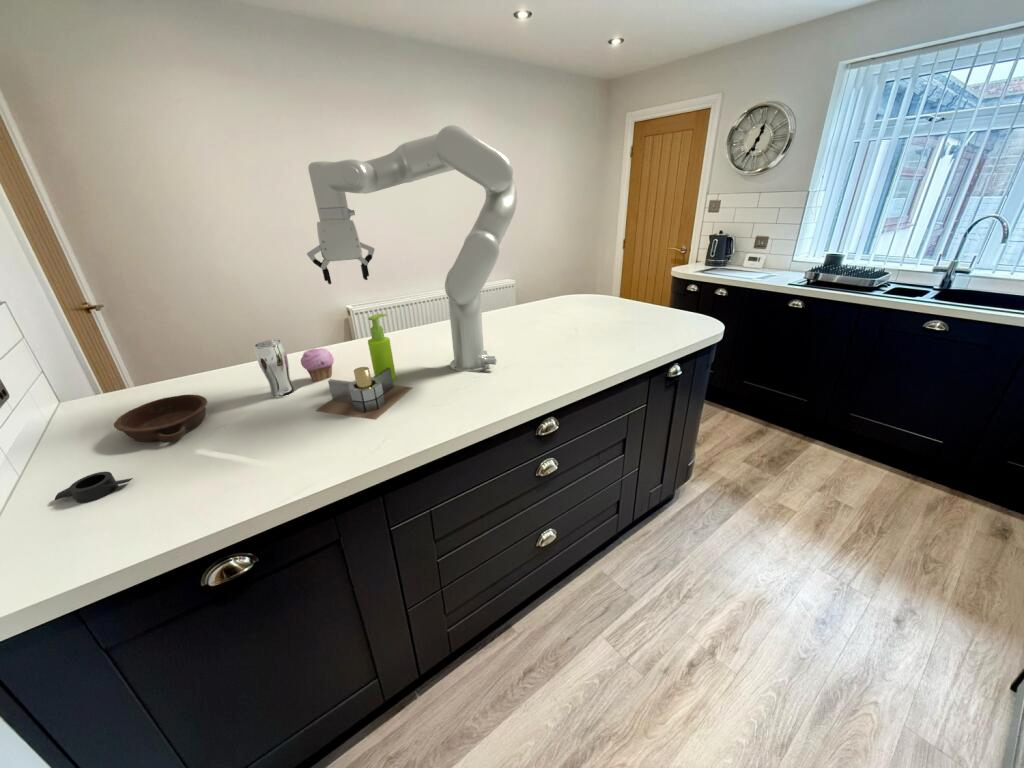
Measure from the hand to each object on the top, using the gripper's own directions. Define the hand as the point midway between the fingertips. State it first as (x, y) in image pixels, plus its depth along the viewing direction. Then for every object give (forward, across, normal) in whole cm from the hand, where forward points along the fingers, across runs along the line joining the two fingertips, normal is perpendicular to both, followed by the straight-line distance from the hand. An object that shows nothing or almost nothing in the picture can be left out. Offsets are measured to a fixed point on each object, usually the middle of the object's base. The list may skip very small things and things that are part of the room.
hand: (347, 281), depth 110 cm
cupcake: (+28, +13, -1) cm, 31 cm away
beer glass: (+28, +23, +2) cm, 37 cm away
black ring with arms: (+29, +55, +31) cm, 70 cm away
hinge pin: (+27, +4, +25) cm, 37 cm away
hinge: (+27, +3, +20) cm, 34 cm away
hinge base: (+28, +3, +20) cm, 35 cm away
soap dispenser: (+28, -4, +10) cm, 30 cm away
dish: (+29, +48, +8) cm, 57 cm away
